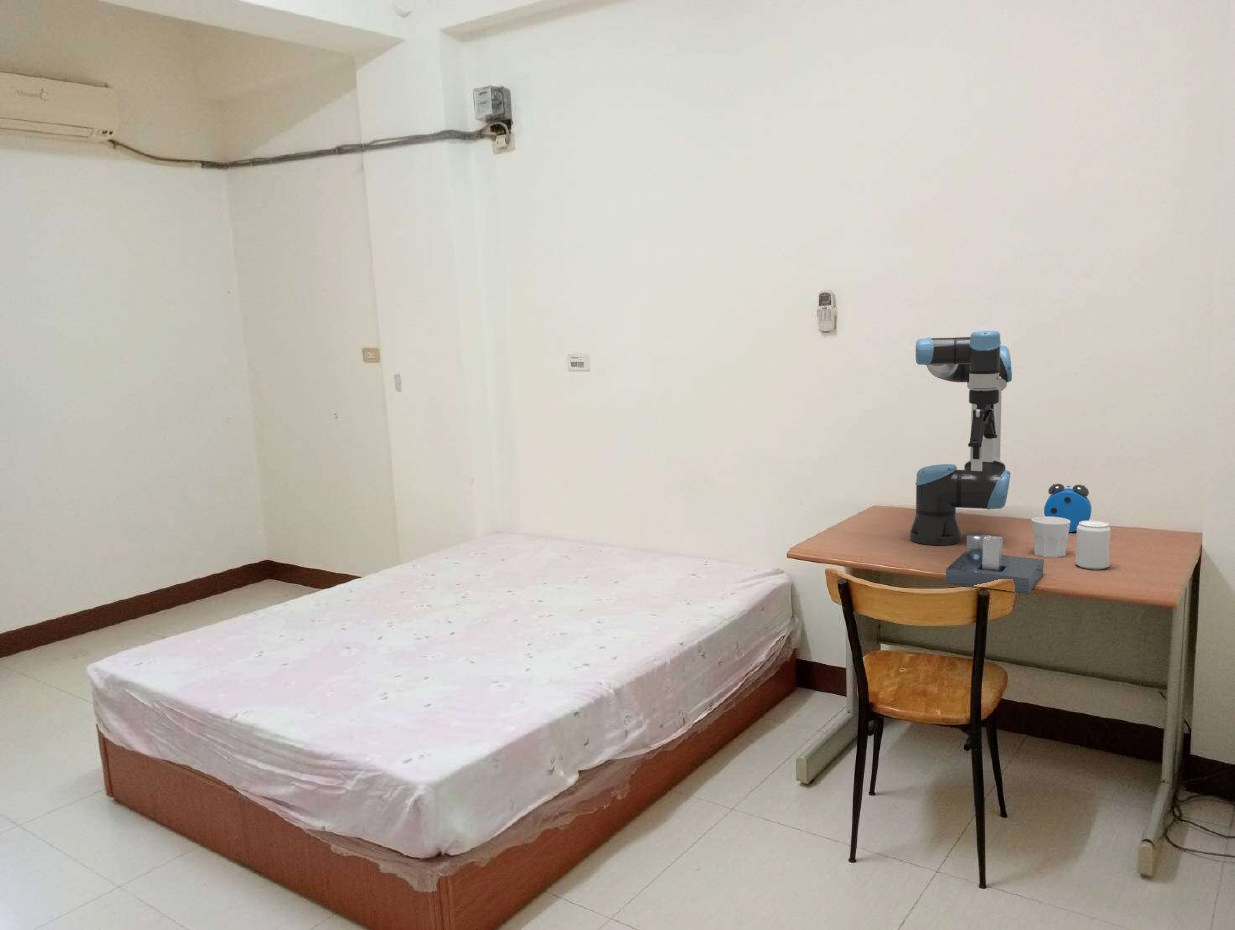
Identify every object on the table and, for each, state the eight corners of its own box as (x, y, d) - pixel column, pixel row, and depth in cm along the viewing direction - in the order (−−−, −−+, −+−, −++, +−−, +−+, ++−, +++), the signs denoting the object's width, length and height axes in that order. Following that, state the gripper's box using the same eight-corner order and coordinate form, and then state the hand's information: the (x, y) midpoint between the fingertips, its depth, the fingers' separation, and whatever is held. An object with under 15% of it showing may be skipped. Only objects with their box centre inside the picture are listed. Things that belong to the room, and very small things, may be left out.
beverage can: (1069, 563, 250) (1070, 521, 248) (1097, 561, 250) (1099, 519, 248) (1086, 571, 242) (1088, 527, 240) (1115, 569, 242) (1117, 525, 240)
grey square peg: (981, 583, 235) (982, 538, 233) (985, 579, 238) (986, 535, 236) (998, 585, 232) (999, 540, 231) (1001, 581, 236) (1002, 536, 234)
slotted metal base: (945, 583, 236) (946, 546, 234) (965, 565, 252) (965, 530, 251) (1028, 594, 225) (1029, 555, 223) (1043, 573, 241) (1044, 537, 239)
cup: (1022, 552, 263) (1023, 519, 261) (1047, 547, 266) (1049, 515, 265) (1051, 560, 253) (1052, 525, 252) (1077, 555, 257) (1078, 521, 256)
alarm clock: (1090, 530, 285) (1092, 483, 282) (1089, 534, 279) (1091, 487, 277) (1044, 527, 291) (1046, 481, 289) (1043, 531, 286) (1044, 484, 283)
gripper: (988, 394, 232) (986, 475, 235) (1008, 384, 252) (1006, 458, 256) (958, 394, 236) (956, 473, 240) (980, 383, 256) (978, 457, 260)
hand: (982, 466), depth 248 cm, fingers open, 13 cm apart
